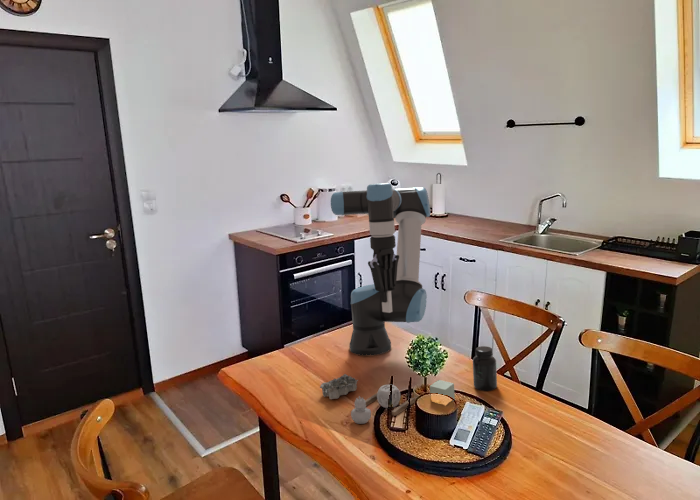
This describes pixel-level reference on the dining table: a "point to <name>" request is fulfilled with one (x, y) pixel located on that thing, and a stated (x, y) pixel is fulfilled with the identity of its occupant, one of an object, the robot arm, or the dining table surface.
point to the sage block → (443, 388)
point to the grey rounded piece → (360, 412)
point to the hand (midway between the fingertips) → (387, 311)
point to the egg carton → (339, 386)
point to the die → (384, 395)
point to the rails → (395, 411)
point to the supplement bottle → (484, 369)
